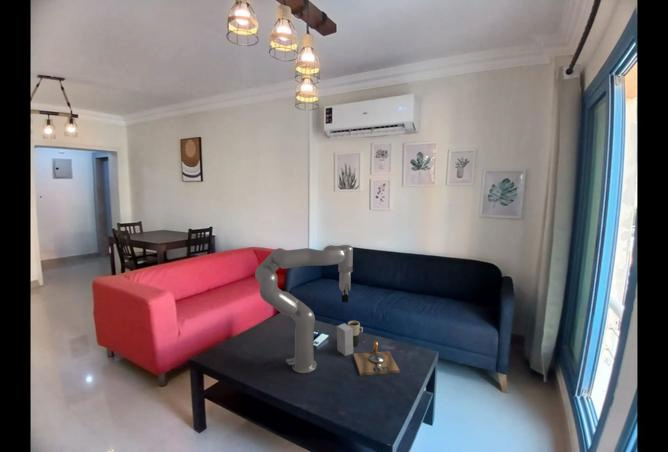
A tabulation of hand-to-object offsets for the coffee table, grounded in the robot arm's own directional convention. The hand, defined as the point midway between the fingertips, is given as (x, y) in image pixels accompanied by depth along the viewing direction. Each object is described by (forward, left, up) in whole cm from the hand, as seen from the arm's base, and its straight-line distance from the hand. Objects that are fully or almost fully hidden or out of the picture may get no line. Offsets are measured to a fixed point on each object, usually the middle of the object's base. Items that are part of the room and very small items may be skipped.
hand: (344, 301), depth 168 cm
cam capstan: (+16, -10, -29) cm, 35 cm away
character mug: (+7, +12, -31) cm, 34 cm away
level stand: (+15, -10, -31) cm, 36 cm away
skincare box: (+1, +4, -31) cm, 31 cm away
